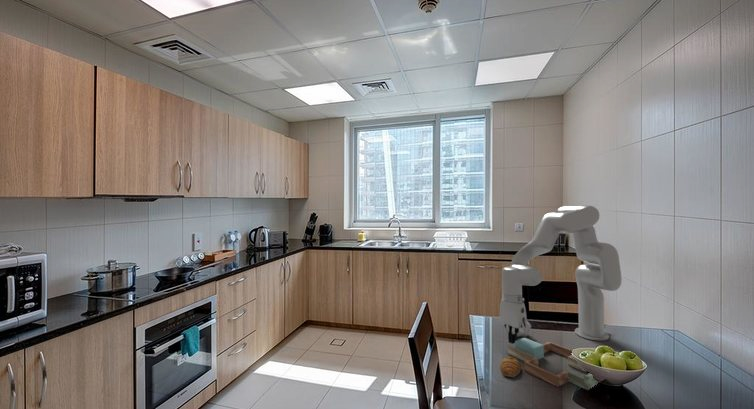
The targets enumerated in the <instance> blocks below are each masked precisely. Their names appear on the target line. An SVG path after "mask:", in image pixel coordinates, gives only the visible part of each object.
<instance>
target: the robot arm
mask: <svg viewBox="0 0 754 409" xmlns="http://www.w3.org/2000/svg"><path fill="white" fill-rule="evenodd" d="M599 219H600V212H599V209H598V208H596V206H593V205H587V204H586V205H573V204H571V205H562V206H560V207H558V208H557V211H556V212H548V213H546V214H544V215H543V216H542V218H541V220H540V222H539V224H538V226H537V229H536V230H535V233H534V235H533V236H532V238H531V240H530V241H529V242H528V243H526V244H525V245H523V246H522V247H521V248H519V250H518V251H517V252H516V253H515V254H514V256H513V257H512V260H511V262H510V264H509V266H505V267H503V268H502V270H501V292H502V293H501V296H502V297H501V300H500V303H499V304H500V305H499V320H500V324H501V325H502V326H504V327H505V329H506V332H507V334H508V338H507V339H508V343H510V344H512V345H513V344H515V341H516V340H518V337H517V333H518V332H524V331H525V327H526V326H527V321H528V318H527V310H526V306H525V298H524V297H523V286H529V287H530V286H531V287H532V286H533V287H534V286H538V285H539V284H540V283H541V282H542V281H543V273H542V272H541V271H540V270H539V269H538V268H536V267H533V266H529V265H528V263H529V262H530V261H531V260H532V259H534V258H535V257H538V256H540V255H543V254H547V253H549V252H551V251H552V250H553V248H554V246H555V244H556V241H557V239H558V238H559V235H560V234H562V233H564V234H572V236H573V240H574V247H575V254H576V258H577V259H578V260H579V261H581V262H584V264H580V265H578V266H577V267H576V268H575V270H574V271H575V272H574V277H575V280H576V285H577V299H578V300H577V302H578V304H577V305H578V306H577V307H578V327H576V328H575V329H574V333H575V334H576V335H577V336H579V337H581V338H582V339H583V338H584V339H587V340H591V341H597V342H599V341H601V342H602V341H607V340H609V339H610V336H609V334H608V333H607V332H606V331H605V328H607V327H608V325H607V324H606V323H605V299H604V298H605V297H604V293H603V292H602V290H604V291H608V292H614V291H617V290H619V289H620V287H621V285H622V272H621V271H622V270H621V264H620V255H619V252H618V250H617V249H616V247H614V245H612V244H610V243H607V242H599V241H598V238H597V233H596V230H595V227H594V226H595V225H596V224H597V223H598V222H599ZM587 263H589V264H587ZM594 264H595V265H594Z"/></svg>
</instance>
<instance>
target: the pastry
mask: <svg viewBox="0 0 754 409" xmlns="http://www.w3.org/2000/svg"><path fill="white" fill-rule="evenodd" d="M499 366H500V370H501V372H502V375H503V376H504V377H509V378H515V377H517V376H518V375H520V372H521V369H522V365H521V363H520V362H519V361H518V358H516V357H514V356H505V357H504V358H502V360H501V361H500V364H499Z"/></svg>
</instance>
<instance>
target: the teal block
mask: <svg viewBox="0 0 754 409" xmlns="http://www.w3.org/2000/svg"><path fill="white" fill-rule="evenodd" d="M542 344H543V343H539V342H537V341H534V340H532V339H529V338H527V337H522V338H519V339H517V340H516V341H515V343H514V348H516V349H519V350H521V351H523V352H526V353H528V354H530V355H533V356H535V357H537V358H538V361H540V360H542V359H543V358H544V357H545V356H544V354H545V353H544V352H543V345H542Z"/></svg>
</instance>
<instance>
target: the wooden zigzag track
mask: <svg viewBox="0 0 754 409" xmlns="http://www.w3.org/2000/svg"><path fill="white" fill-rule="evenodd" d="M541 344H542V345H543V352H544V354H545V353H548V352H550V351H551V352H553V353H556V354H559V355H561V356H564V357H565V358H567V365H568V366H569V367H572V368H574V369H577V370H579V371H582V372H584V371H583V370H582V368H581V367H580V366H579V365H578V363H577V361H576V360H575V358H574V357H573V356H572V354H571V353H572V351H573V349H570V348H568V347H565V346H563V345H560V344H557V343H555V342H552V341H547V342H545V343H541ZM507 354H508V355H509V356H511V357H514V358H516V359H517V360H521V361H523V371H525V372H527V373H529V374H531V375H532V376H535V377H537V378H539V379H541V380H543V381H544V382H548V383H549V384H551V385H553V386H556V387H557V388H558V387H560V386H562V385H564V384H567V383H571V384H574V385H576V386H577V387H579V388H582V389H584V390H586V391H589V390H591V389H592V387H593V388H595V387H596V386H597V384H598V382H597V381H596V380H595V379H594V378H593V375H592V374H590V373H587V374H586V375H584V377H583V376H581V375H578V374H577V373H575V372H572V371H569V370H567V369H566V370H564V371H562V372H560V373H558V374H555V373H553V372H551V371H549V370H546V369H544V368H542V367H539V360H538V358H537V357H535V356H533V355H530V354H528V353H526V352H523V351H521V350H519V349H516V348H515V346H514V347H513V346H511V345H507ZM595 385H596V386H595ZM598 385H599V384H598ZM594 386H595V387H594ZM590 388H591V389H590Z"/></svg>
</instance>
